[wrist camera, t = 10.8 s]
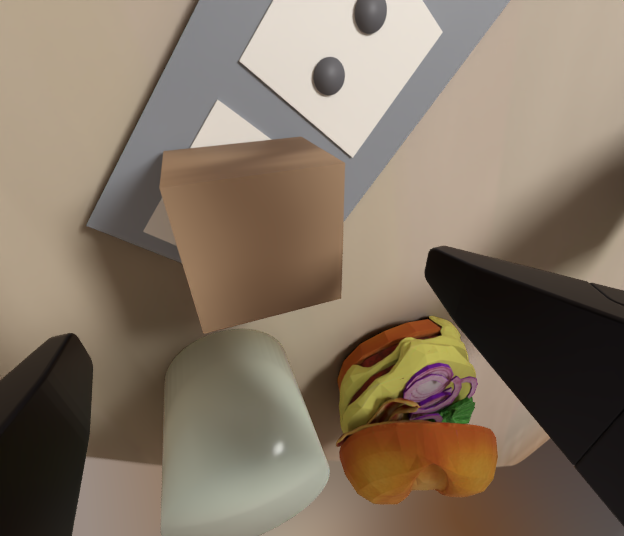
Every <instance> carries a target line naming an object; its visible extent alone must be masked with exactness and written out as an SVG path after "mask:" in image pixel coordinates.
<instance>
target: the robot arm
mask: <svg viewBox="0 0 624 536" xmlns="http://www.w3.org/2000/svg"><path fill="white" fill-rule="evenodd" d="M425 278H426V280H427V282H428V283H429V285H430V286H431V288H432V289H433V291H434V292H435V294H436V295H437V297H438V298H439V300H440V301H441V303H442V304H443V306H444V307H445V309H446V310H447V312H448V313H449V315H450V316H451V317H452V319H453V320H454V321H455V323H456V324H457V325H458V327H459V328H460V329H461V330H462V331H463V333H464V334H465V335H466V336H467V337H468V339H469V340H470V341H471V342H472V344H473V345H474V346H475V347H476V348H477V350H478V351H479V352H480V353H481V354H482V356H483V357H484V358H485V359H486V360H487V362H488V363H489V364H490V365H491V367H492V368H493V369H494V370H495V371H496V373H497V374H498V375H499V376H500V377H501V379H502V380H503V381H504V382H505V383H506V385H507V386H508V387H509V388H510V389H511V391H512V392H513V393H514V394H515V396H516V397H517V398H518V399H519V400H520V402H521V403H522V404H523V405H524V406H525V408H526V409H527V410H528V411H529V412H530V414H531V415H532V416H533V417H534V419H535V420H536V421H537V422H538V423H539V425H540V426H541V427H542V428H543V429H544V431H545V432H546V433H547V434H548V435H549V437H550V438H551V439H552V440H553V441H554V443H555V444H556V445H557V446H558V448H559V449H560V450H561V451H562V452H563V454H564V455H565V456H566V457H567V458H568V460H569V461H570V462H571V463H572V464H573V465H574V467H575V469H576V470H577V471H578V472H579V473H580V475H581V476H582V477H583V478H584V479H585V481H587V483H588V484H589V485H590V487H591V488H592V489H593V490H594V491H595V493H596V494H597V495H598V496H599V498H600V499H601V500H602V501H603V502H604V504H605V505H606V506H607V507H608V508H609V510H610V511H611V512H612V513H613V515H614V516H615V517H616V518H617V519H618V521H619V522H620V523H621V524H622V525H623V526H624V291H623V290H619V289H615V288H611V287H607V286H603V285H599V284H595V283H588V282H587V281H583V280H579V279H575V278H571V277H567V276H563V275H559V274H555V273H551V272H547V271H543V270H539V269H535V268H531V267H527V266H523V265H519V264H515V263H511V262H507V261H503V260H499V259H496V258H492V257H488V256H484V255H480V254H476V253H472V252H468V251H464V250H460V249H456V248H452V247H448V246H439V247H435V248H432V249H430V251H429V253H428V257H427V262H426V267H425ZM92 379H93V364H92V360H91V358H90V356H89V354H88V353H87V351H86V349H85V348H84V346H83V345H82V343H81V341H80V340H79V338H78V337H77V336H76V335H75V334H73V333H67V334H63V335H59V336H55V337H51V338H49V339H48V340H47V341H45V342H44V343H43V344H42V345H41V346H40V347H38V348H37V349H36V350H35V351H34V352H33V353H32V354H30V355H29V356H28V357H27V358H26V359H25V360H23V361H22V362H21V363H20V364H19V365H18V366H16V367H15V368H14V369H13V370H12V371H11V372H9V373H8V374H7V375H6V376H5V377H4V378H3V379H1V380H0V536H72V532H73V525H74V520H75V514H76V509H77V503H78V498H79V492H80V487H81V481H82V475H83V469H84V464H85V459H86V453H87V447H88V441H89V434H90V421H91V400H92Z"/></svg>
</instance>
